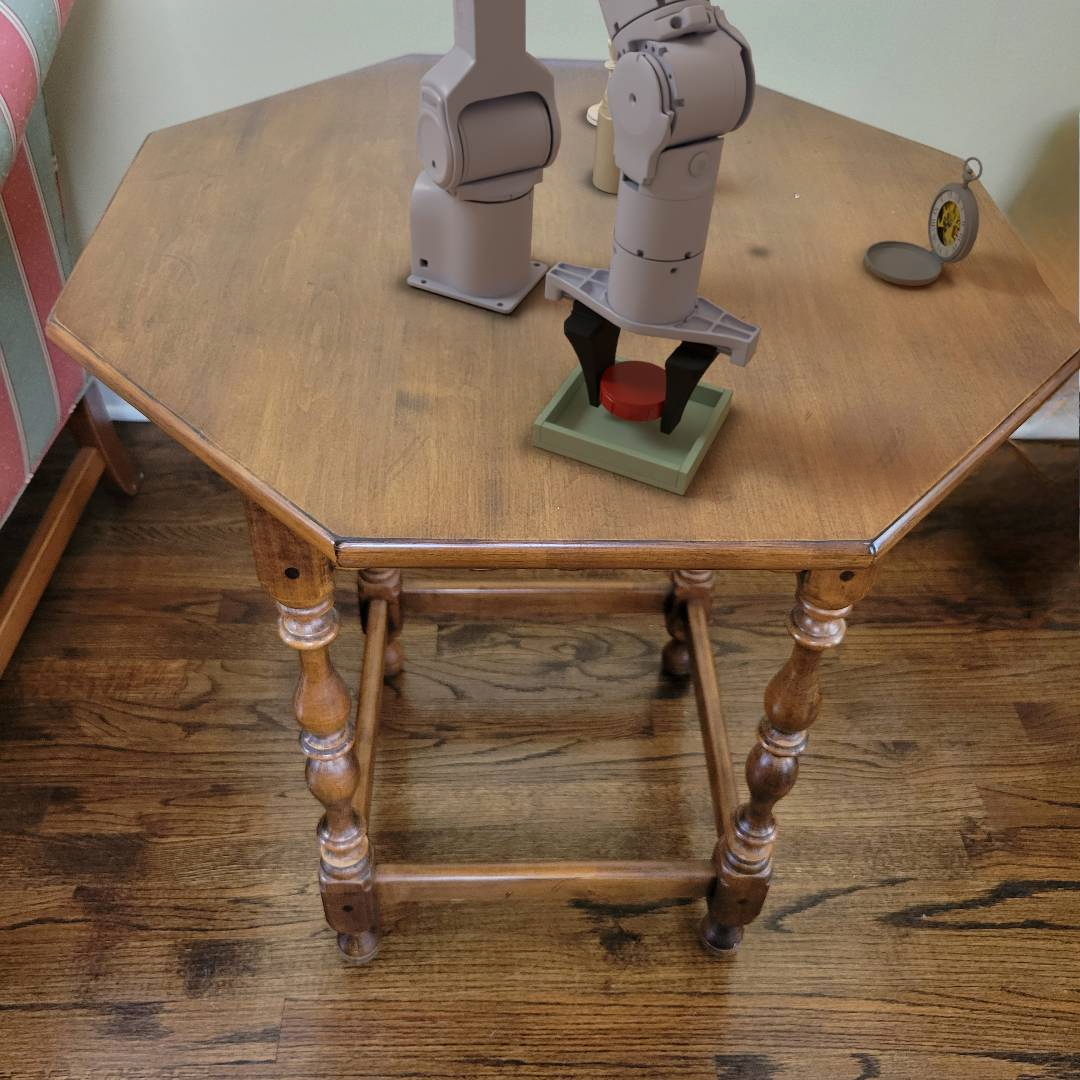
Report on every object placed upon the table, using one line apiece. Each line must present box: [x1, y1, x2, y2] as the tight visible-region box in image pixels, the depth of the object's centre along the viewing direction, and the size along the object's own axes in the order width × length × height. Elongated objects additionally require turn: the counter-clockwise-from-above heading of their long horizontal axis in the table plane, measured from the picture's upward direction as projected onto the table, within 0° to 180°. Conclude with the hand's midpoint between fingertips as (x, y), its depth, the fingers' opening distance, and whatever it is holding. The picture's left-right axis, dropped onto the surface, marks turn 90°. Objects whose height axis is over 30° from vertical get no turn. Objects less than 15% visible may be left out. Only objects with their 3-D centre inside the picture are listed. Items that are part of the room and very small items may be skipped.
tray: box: [532, 355, 734, 496], centre depth 76 cm, size 11×10×2 cm
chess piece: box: [586, 37, 617, 127], centre depth 110 cm, size 5×5×10 cm
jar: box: [591, 93, 621, 195], centre depth 100 cm, size 5×5×8 cm
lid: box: [599, 360, 666, 422], centre depth 74 cm, size 5×5×2 cm
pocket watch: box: [863, 156, 984, 287], centre depth 91 cm, size 8×8×10 cm
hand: (635, 412), depth 75 cm, fingers closed on lid, 5 cm apart
